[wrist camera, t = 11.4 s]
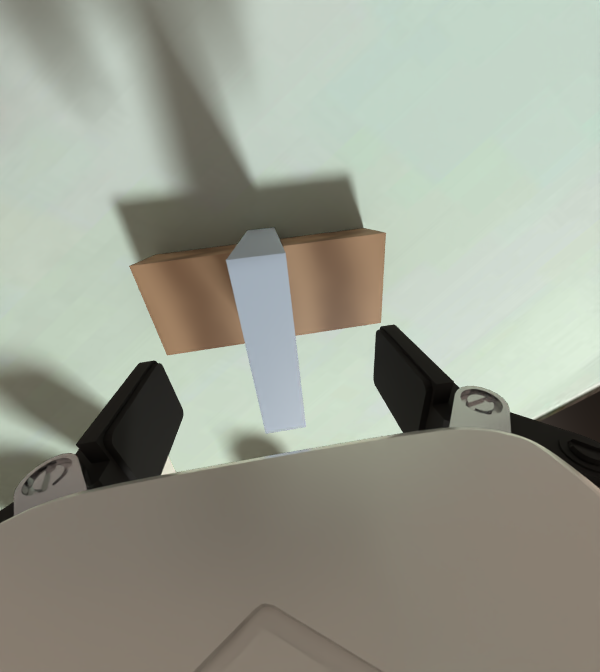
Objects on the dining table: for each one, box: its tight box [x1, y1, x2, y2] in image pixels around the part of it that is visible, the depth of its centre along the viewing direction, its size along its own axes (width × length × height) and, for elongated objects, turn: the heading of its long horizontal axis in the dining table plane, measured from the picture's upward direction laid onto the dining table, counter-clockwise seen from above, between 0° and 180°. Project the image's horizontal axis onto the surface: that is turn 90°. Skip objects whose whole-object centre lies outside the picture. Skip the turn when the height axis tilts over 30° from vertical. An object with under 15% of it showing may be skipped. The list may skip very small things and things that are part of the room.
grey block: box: [226, 227, 306, 434], centre depth 19 cm, size 2×10×14 cm, turn 5°
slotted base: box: [129, 228, 386, 355], centre depth 23 cm, size 20×8×5 cm, turn 96°
